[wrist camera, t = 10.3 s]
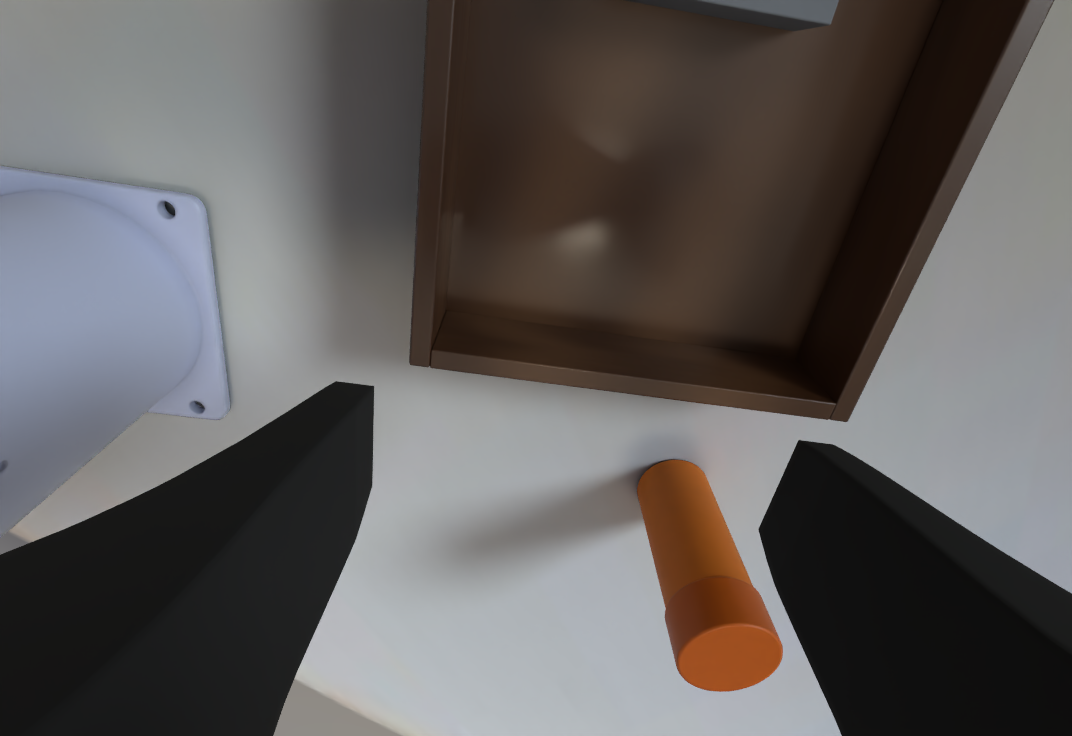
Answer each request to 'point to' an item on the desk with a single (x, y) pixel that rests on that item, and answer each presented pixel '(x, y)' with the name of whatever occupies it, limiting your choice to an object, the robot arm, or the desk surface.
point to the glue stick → (705, 583)
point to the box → (693, 189)
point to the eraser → (759, 11)
